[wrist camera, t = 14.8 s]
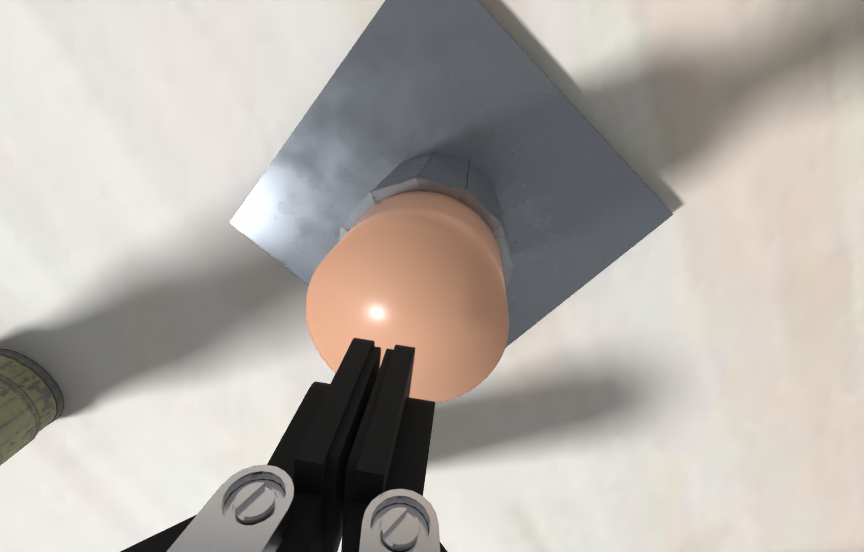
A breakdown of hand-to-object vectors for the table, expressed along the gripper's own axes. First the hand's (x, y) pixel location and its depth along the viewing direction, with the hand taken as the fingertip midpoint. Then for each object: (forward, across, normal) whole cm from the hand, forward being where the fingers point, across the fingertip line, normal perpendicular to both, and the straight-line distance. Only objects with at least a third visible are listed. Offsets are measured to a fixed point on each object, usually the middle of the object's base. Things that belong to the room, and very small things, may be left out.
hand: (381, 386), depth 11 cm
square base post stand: (+18, 0, 0) cm, 18 cm away
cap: (+15, 0, 0) cm, 15 cm away
